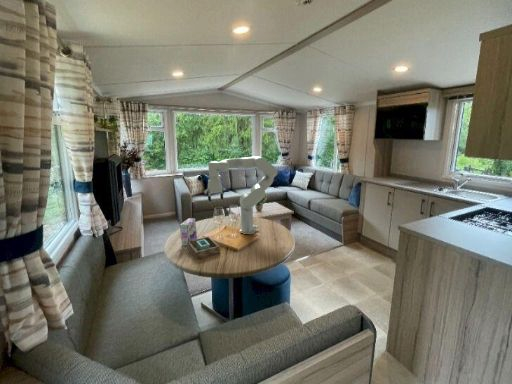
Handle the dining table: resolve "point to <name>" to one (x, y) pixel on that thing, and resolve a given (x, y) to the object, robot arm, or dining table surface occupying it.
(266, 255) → the dining table surface
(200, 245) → the small crate
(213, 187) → the robot arm
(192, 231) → the candy box
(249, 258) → the dining table surface
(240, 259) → the dining table surface
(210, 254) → the big crate
